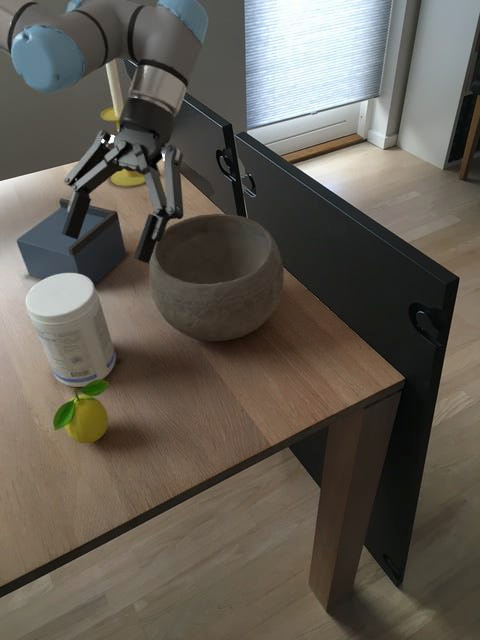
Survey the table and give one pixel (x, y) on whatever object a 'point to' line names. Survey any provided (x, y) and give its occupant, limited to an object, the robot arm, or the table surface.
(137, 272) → the table surface
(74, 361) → the supplement tub
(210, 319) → the bowl
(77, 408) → the lemon
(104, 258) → the blue storage bin
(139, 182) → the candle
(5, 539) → the table surface
